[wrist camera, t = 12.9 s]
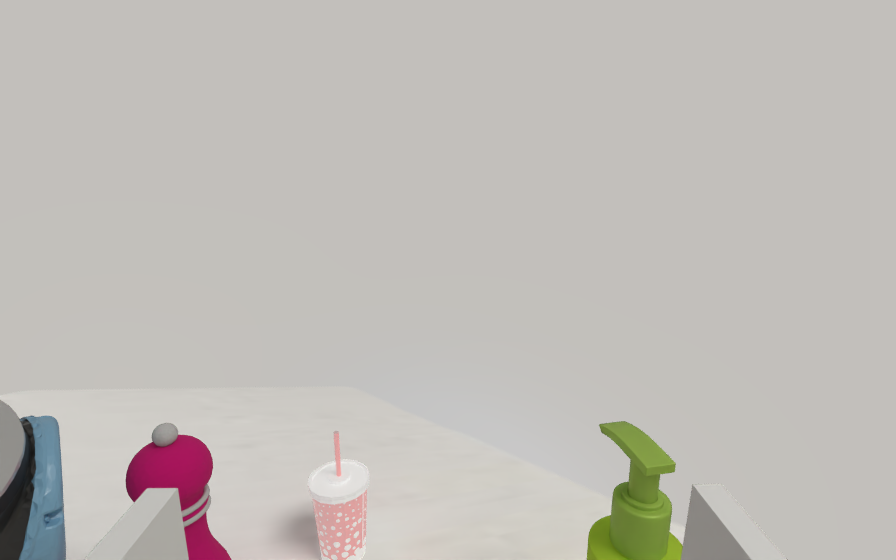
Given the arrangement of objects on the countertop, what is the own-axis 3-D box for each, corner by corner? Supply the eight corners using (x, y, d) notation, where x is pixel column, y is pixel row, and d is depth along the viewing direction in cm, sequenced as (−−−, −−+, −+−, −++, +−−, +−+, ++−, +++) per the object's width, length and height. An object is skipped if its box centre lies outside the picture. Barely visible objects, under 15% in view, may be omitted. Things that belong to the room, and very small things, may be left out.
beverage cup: (337, 523, 54) (330, 411, 51) (384, 540, 52) (379, 423, 48) (301, 563, 49) (290, 441, 45) (351, 584, 46) (343, 456, 43)
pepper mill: (220, 581, 47) (194, 394, 42) (255, 628, 42) (230, 422, 37) (136, 633, 41) (96, 426, 37) (164, 693, 37) (122, 464, 32)
